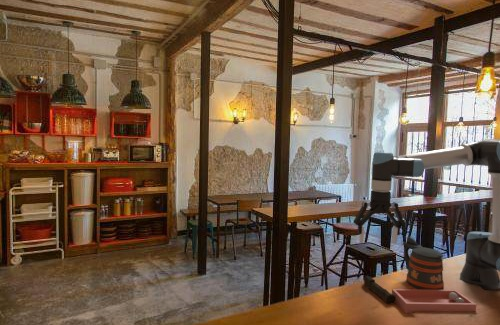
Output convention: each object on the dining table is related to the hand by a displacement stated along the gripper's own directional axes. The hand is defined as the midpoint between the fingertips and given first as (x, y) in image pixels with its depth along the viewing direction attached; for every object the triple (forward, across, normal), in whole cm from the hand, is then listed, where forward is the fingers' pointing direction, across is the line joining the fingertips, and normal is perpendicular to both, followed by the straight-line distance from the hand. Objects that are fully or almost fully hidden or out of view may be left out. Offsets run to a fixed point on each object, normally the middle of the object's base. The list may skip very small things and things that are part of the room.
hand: (377, 242), depth 137 cm
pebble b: (+20, -28, +12) cm, 36 cm away
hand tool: (+22, 0, 0) cm, 22 cm away
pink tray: (+21, -18, +10) cm, 30 cm away
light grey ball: (+20, -28, +8) cm, 35 cm away
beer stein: (+22, -22, -7) cm, 32 cm away
